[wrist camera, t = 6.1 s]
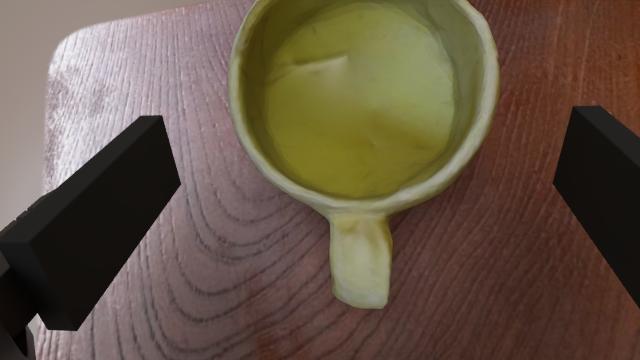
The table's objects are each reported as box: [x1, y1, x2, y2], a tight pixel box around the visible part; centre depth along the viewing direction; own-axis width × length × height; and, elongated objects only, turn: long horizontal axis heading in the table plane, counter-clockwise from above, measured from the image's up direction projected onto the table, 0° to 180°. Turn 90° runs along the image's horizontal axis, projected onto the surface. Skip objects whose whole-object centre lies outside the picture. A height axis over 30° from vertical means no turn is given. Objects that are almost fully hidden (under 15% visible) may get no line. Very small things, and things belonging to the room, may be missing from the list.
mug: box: [227, 0, 500, 309], centre depth 18 cm, size 12×10×10 cm
